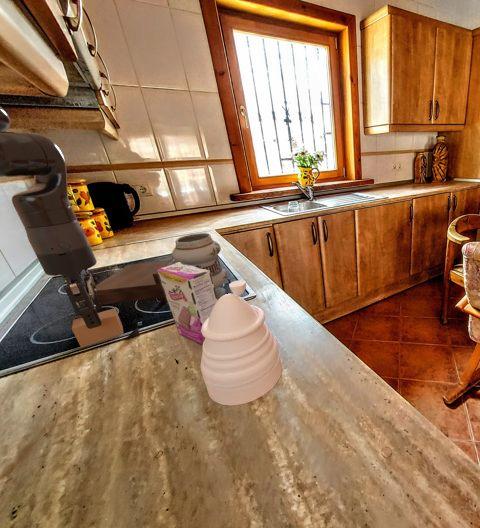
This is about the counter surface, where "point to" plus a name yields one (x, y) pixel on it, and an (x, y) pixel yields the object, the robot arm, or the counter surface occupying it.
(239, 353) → the honey pot
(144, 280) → the shelf
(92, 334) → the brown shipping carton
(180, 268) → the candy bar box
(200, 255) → the apothecary jar
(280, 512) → the counter surface
